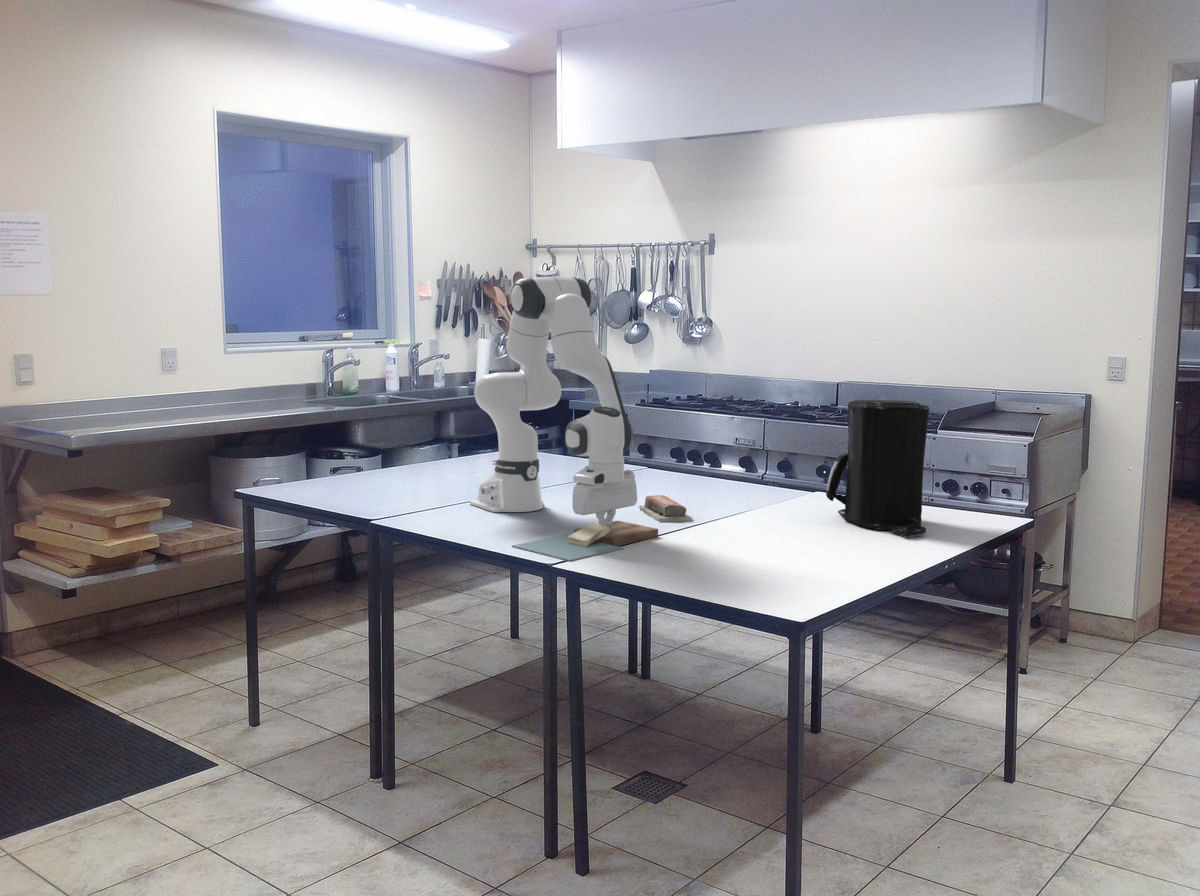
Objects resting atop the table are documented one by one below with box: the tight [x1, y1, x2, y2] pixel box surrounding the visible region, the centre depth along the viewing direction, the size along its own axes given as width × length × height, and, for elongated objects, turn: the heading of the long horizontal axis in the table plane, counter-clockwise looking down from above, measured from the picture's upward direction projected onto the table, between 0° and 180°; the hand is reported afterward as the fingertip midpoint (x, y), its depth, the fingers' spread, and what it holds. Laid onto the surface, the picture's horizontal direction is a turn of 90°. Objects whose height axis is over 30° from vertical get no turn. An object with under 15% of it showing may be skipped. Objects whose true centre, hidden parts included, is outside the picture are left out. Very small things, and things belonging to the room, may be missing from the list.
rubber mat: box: [511, 533, 624, 562], centre depth 250 cm, size 20×18×1 cm
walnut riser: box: [573, 520, 659, 547], centre depth 262 cm, size 14×16×2 cm
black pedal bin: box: [825, 399, 930, 539], centre depth 280 cm, size 23×32×34 cm
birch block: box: [567, 522, 610, 547], centre depth 255 cm, size 9×6×2 cm, turn 136°
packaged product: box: [638, 494, 694, 523], centre depth 291 cm, size 18×5×10 cm
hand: (605, 527), depth 259 cm, fingers closed
